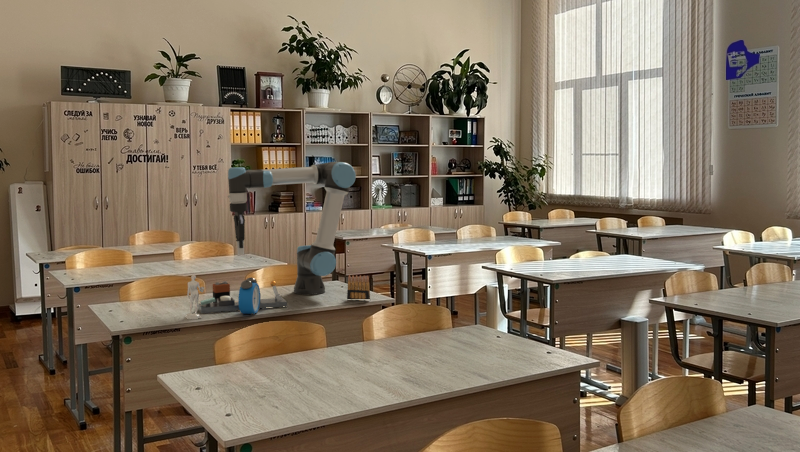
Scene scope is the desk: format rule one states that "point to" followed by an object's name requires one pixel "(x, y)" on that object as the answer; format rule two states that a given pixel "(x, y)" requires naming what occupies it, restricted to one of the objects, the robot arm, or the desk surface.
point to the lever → (274, 288)
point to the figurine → (194, 293)
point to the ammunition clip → (363, 288)
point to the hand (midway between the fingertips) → (241, 255)
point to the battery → (221, 290)
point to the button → (225, 298)
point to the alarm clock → (249, 296)
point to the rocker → (207, 301)
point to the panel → (234, 305)
